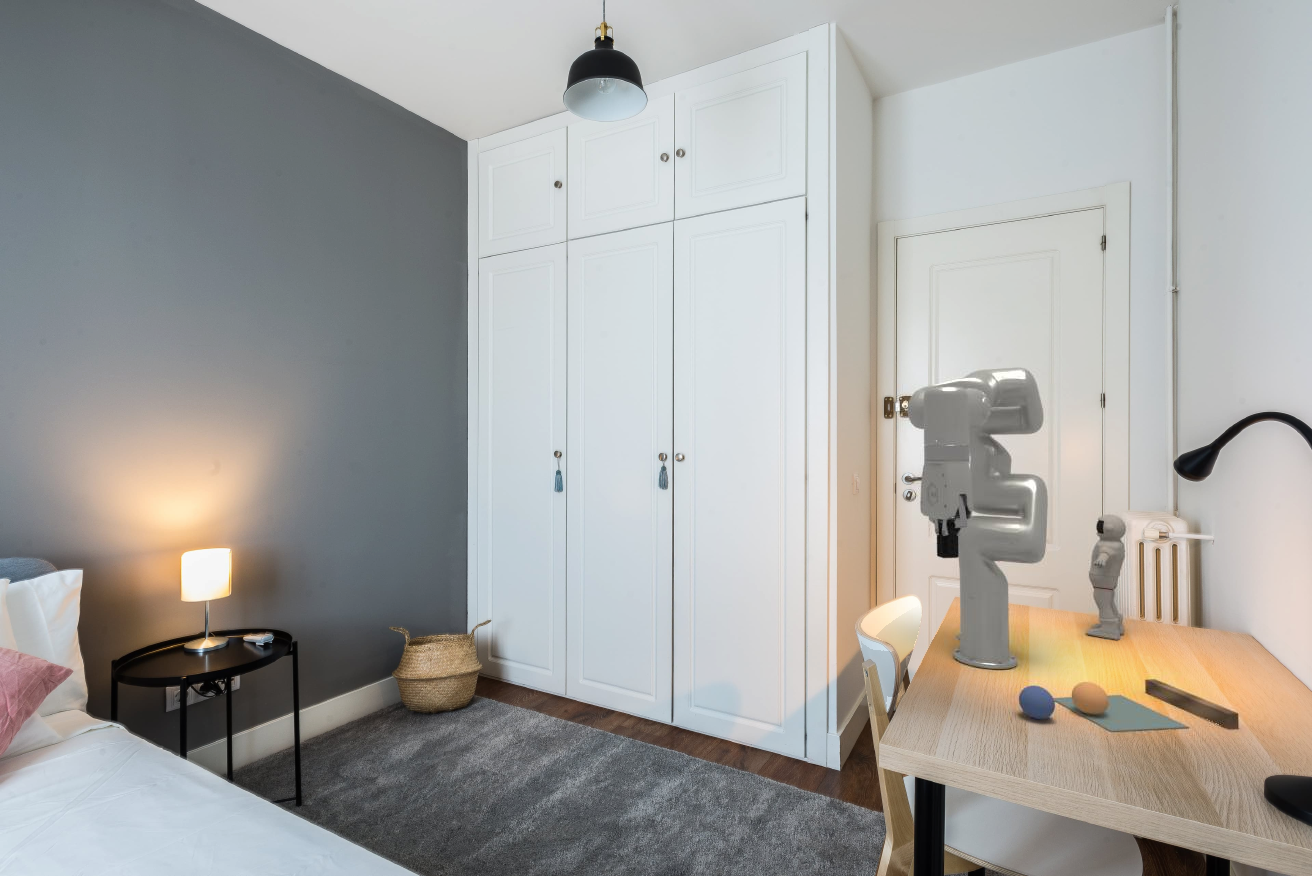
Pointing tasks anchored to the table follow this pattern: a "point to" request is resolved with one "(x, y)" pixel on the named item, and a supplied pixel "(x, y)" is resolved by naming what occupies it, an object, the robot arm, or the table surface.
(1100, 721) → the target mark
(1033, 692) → the blue ball
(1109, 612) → the toy
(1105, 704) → the orange ball
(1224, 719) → the rail
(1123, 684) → the table surface
